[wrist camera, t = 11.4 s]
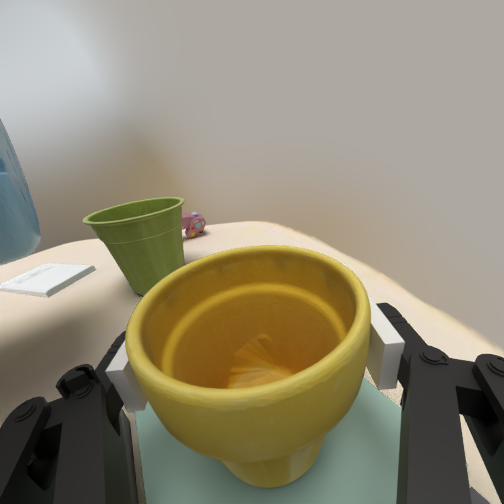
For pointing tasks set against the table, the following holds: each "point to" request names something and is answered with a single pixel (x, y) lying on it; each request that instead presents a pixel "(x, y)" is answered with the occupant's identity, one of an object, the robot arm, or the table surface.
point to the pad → (299, 491)
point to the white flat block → (46, 279)
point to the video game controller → (192, 224)
